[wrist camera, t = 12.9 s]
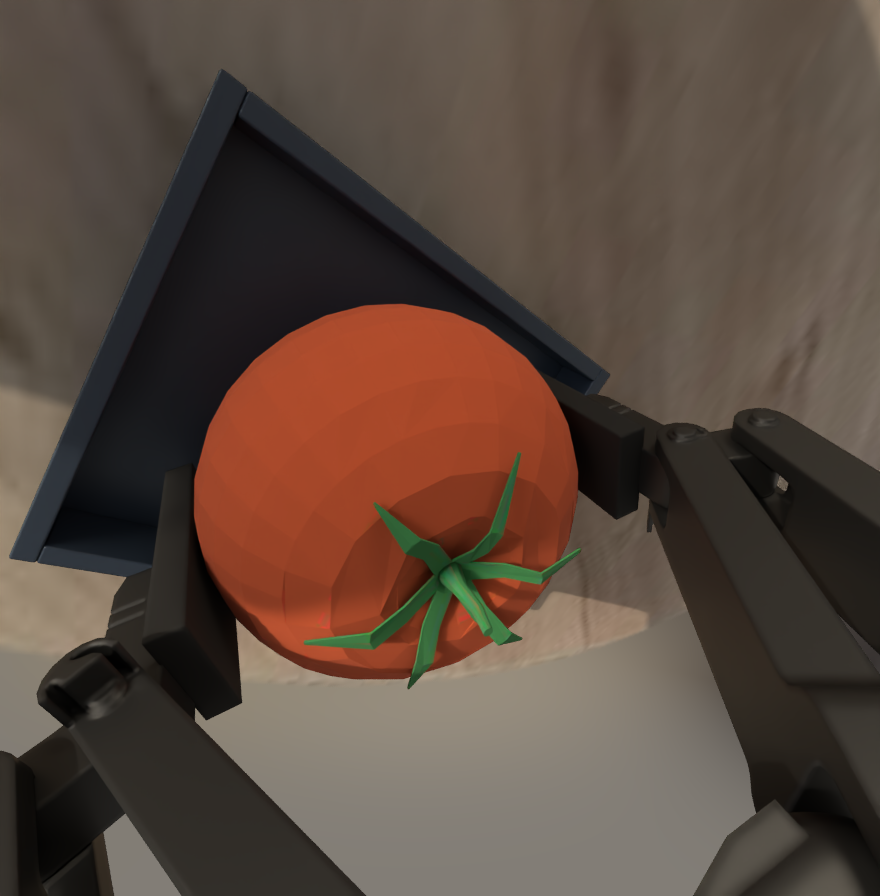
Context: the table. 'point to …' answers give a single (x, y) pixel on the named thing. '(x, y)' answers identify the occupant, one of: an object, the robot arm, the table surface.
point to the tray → (240, 318)
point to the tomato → (385, 492)
